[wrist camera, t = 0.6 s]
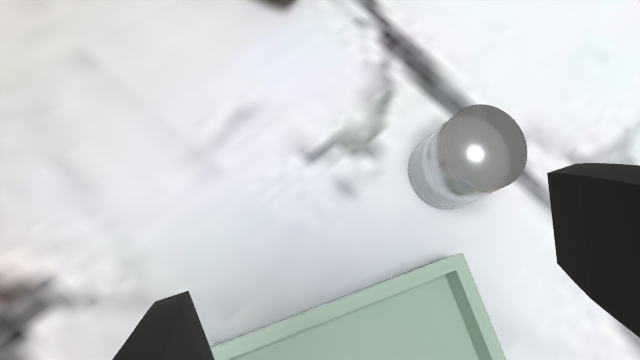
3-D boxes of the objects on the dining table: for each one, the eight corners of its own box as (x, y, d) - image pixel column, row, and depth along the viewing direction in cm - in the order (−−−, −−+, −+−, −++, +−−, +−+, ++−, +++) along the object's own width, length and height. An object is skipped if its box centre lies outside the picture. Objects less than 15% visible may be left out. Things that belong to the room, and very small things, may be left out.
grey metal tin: (489, 196, 38) (540, 173, 32) (425, 219, 36) (466, 200, 31) (460, 129, 38) (505, 95, 33) (397, 149, 37) (432, 117, 31)
